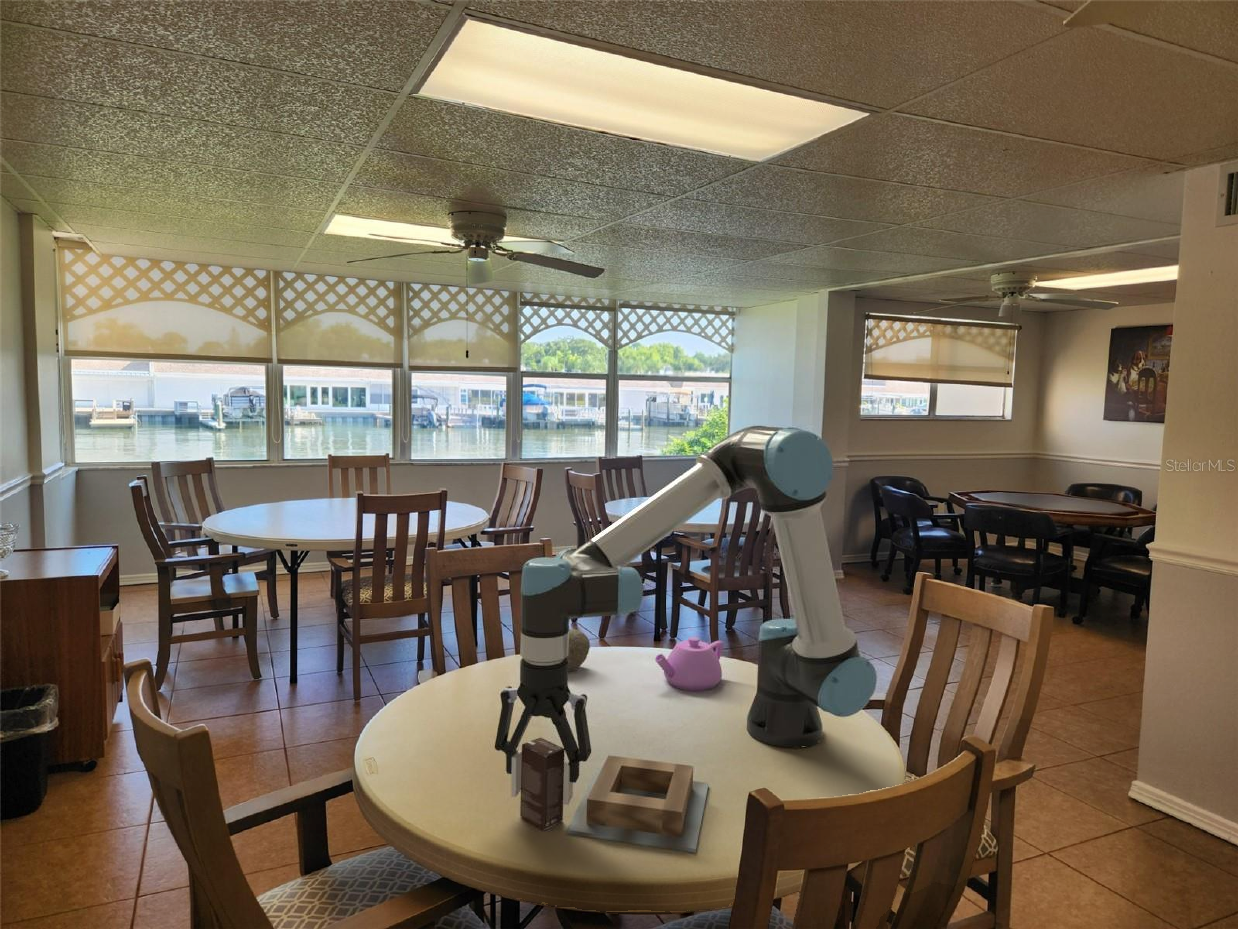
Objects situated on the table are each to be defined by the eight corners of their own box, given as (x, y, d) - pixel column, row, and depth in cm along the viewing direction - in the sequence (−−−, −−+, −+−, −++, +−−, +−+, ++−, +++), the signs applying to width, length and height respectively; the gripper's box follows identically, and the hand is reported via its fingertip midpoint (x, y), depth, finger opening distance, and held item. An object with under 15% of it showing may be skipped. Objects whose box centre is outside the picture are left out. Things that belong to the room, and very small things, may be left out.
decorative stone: (554, 678, 181) (555, 637, 180) (544, 666, 189) (545, 627, 188) (594, 673, 185) (595, 633, 184) (582, 661, 193) (583, 623, 192)
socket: (708, 786, 132) (709, 761, 132) (695, 853, 112) (696, 823, 112) (597, 771, 136) (598, 747, 136) (566, 833, 117) (567, 805, 116)
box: (564, 820, 120) (566, 748, 119) (543, 832, 117) (544, 757, 116) (539, 806, 124) (540, 735, 123) (518, 816, 121) (519, 744, 120)
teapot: (639, 680, 181) (640, 637, 180) (704, 666, 192) (705, 625, 191) (673, 700, 169) (675, 654, 168) (740, 684, 180) (742, 640, 179)
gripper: (614, 656, 120) (610, 793, 122) (491, 643, 124) (489, 776, 126) (603, 672, 112) (599, 818, 114) (472, 659, 117) (471, 799, 119)
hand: (542, 796), depth 120 cm, fingers open, 8 cm apart
